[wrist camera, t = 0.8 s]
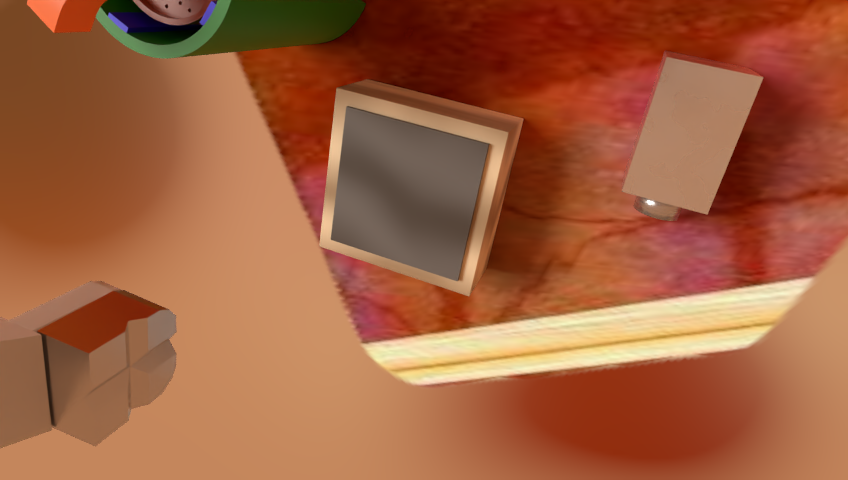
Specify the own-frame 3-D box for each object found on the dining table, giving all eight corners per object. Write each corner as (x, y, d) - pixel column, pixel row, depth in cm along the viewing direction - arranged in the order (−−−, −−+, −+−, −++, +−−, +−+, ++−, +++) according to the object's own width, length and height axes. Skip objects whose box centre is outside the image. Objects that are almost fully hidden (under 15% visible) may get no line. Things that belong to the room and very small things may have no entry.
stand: (367, 79, 44) (334, 88, 39) (523, 118, 41) (507, 133, 37) (349, 224, 49) (317, 247, 44) (486, 268, 46) (468, 298, 42)
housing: (664, 50, 37) (666, 57, 33) (750, 67, 36) (763, 77, 31) (618, 190, 41) (614, 212, 36) (693, 210, 40) (698, 235, 35)
